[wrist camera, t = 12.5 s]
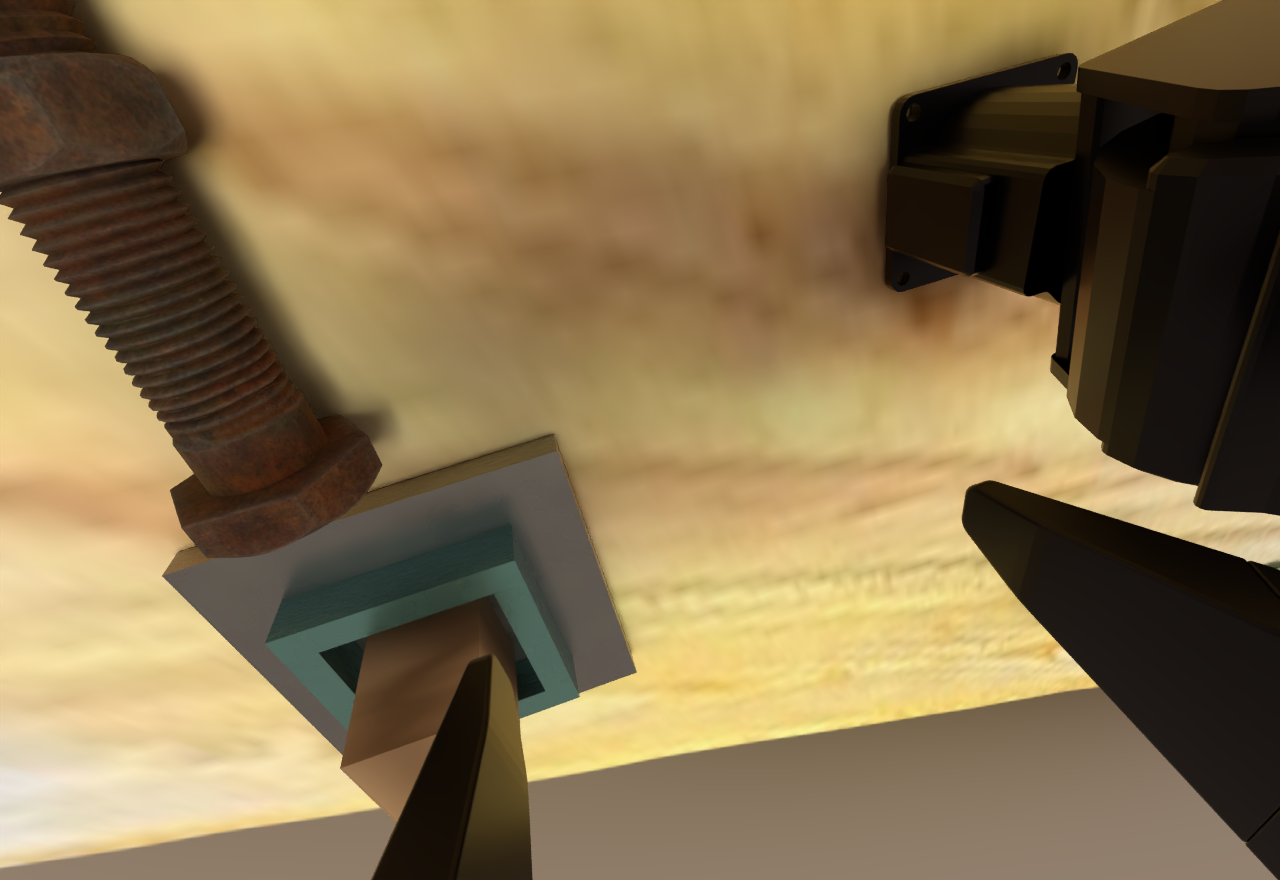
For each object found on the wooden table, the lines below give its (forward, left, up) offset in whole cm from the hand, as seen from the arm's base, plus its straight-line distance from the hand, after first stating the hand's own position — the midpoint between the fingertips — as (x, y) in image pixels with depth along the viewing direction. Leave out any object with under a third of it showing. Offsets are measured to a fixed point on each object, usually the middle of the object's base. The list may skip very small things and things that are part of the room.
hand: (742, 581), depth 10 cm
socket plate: (+10, +10, -12) cm, 19 cm away
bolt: (+11, -6, -12) cm, 18 cm away
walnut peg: (+10, +10, -11) cm, 18 cm away
